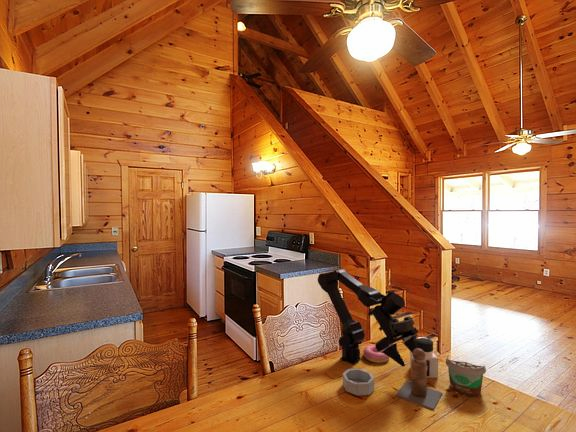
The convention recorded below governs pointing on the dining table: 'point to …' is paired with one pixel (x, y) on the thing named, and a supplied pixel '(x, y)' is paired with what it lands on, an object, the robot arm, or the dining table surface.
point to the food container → (465, 377)
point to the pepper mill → (418, 373)
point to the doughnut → (374, 354)
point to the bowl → (358, 381)
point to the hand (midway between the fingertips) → (412, 362)
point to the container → (427, 356)
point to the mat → (427, 401)
